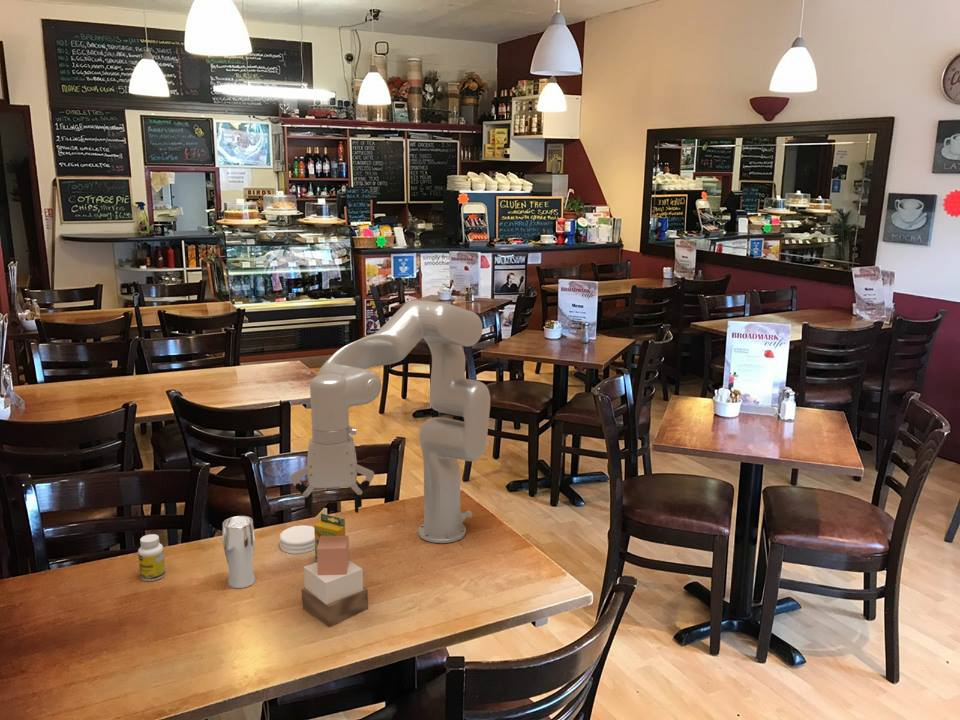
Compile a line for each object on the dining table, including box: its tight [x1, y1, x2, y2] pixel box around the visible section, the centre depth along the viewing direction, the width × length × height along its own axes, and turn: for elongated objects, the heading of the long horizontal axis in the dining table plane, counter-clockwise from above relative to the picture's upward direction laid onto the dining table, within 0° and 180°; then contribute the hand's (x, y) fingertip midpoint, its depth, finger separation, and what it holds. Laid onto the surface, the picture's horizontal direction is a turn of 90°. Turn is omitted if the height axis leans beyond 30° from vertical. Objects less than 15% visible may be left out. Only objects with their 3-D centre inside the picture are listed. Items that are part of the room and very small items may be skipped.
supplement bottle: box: [137, 533, 166, 582], centre depth 178 cm, size 5×5×10 cm
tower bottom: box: [301, 586, 369, 628], centre depth 166 cm, size 10×10×5 cm
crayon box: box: [313, 513, 346, 562], centre depth 186 cm, size 7×3×12 cm, turn 65°
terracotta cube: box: [316, 534, 350, 575], centre depth 164 cm, size 6×6×6 cm
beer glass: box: [222, 515, 256, 589], centre depth 176 cm, size 7×7×15 cm
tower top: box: [303, 559, 364, 605], centre depth 165 cm, size 9×9×5 cm
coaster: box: [279, 525, 315, 555], centre depth 195 cm, size 10×10×4 cm
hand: (333, 511), depth 162 cm, fingers open, 9 cm apart
